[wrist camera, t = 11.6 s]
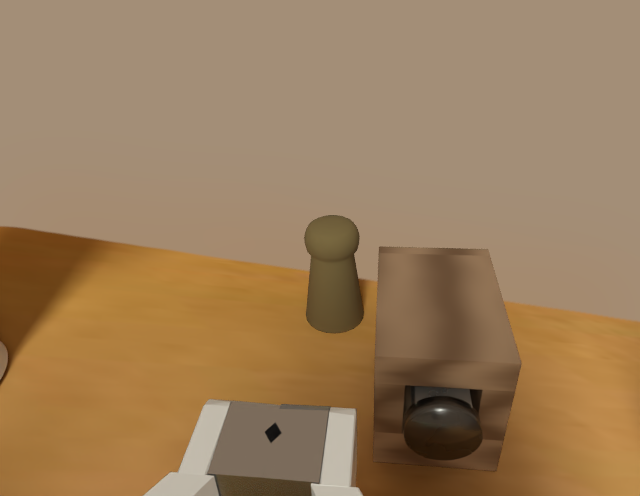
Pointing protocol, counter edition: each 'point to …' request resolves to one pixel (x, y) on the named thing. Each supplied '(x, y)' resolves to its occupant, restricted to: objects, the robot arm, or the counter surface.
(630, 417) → the counter surface
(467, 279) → the block
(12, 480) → the counter surface
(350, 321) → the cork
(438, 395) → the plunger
